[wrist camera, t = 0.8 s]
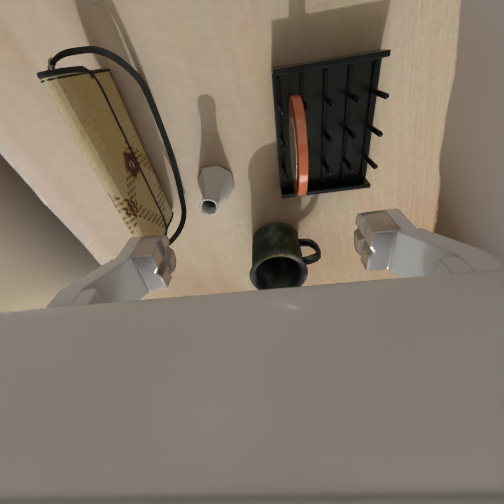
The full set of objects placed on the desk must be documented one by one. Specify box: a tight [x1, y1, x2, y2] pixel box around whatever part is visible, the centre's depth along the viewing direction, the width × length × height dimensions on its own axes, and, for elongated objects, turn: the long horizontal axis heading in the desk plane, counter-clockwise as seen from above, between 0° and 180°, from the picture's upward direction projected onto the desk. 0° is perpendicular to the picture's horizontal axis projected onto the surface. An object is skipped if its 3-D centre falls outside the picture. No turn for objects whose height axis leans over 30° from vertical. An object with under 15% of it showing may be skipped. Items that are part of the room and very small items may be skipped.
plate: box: [288, 94, 308, 196], centre depth 39 cm, size 14×1×14 cm, turn 8°
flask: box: [198, 166, 234, 215], centre depth 47 cm, size 7×7×10 cm
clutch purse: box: [37, 46, 186, 245], centre depth 41 cm, size 30×7×15 cm, turn 12°
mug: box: [250, 223, 321, 290], centre depth 55 cm, size 11×15×12 cm
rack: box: [271, 50, 391, 198], centre depth 42 cm, size 20×16×7 cm
